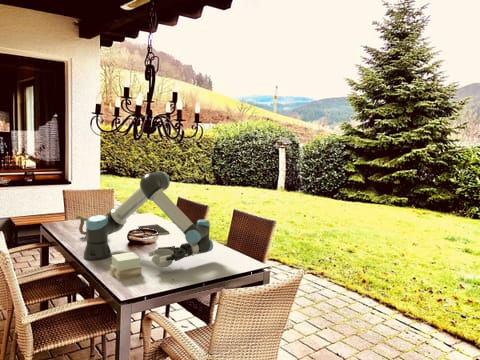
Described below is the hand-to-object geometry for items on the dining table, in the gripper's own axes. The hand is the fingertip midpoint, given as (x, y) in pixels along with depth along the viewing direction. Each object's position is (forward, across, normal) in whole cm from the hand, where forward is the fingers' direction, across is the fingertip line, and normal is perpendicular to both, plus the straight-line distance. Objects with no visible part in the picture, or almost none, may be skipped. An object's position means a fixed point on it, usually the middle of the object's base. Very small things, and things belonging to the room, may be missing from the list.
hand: (154, 256), depth 204 cm
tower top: (+12, +8, -5) cm, 15 cm away
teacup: (-4, 0, -6) cm, 7 cm away
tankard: (0, +84, -10) cm, 85 cm away
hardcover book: (-43, +74, -10) cm, 86 cm away
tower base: (+12, +8, -10) cm, 18 cm away
